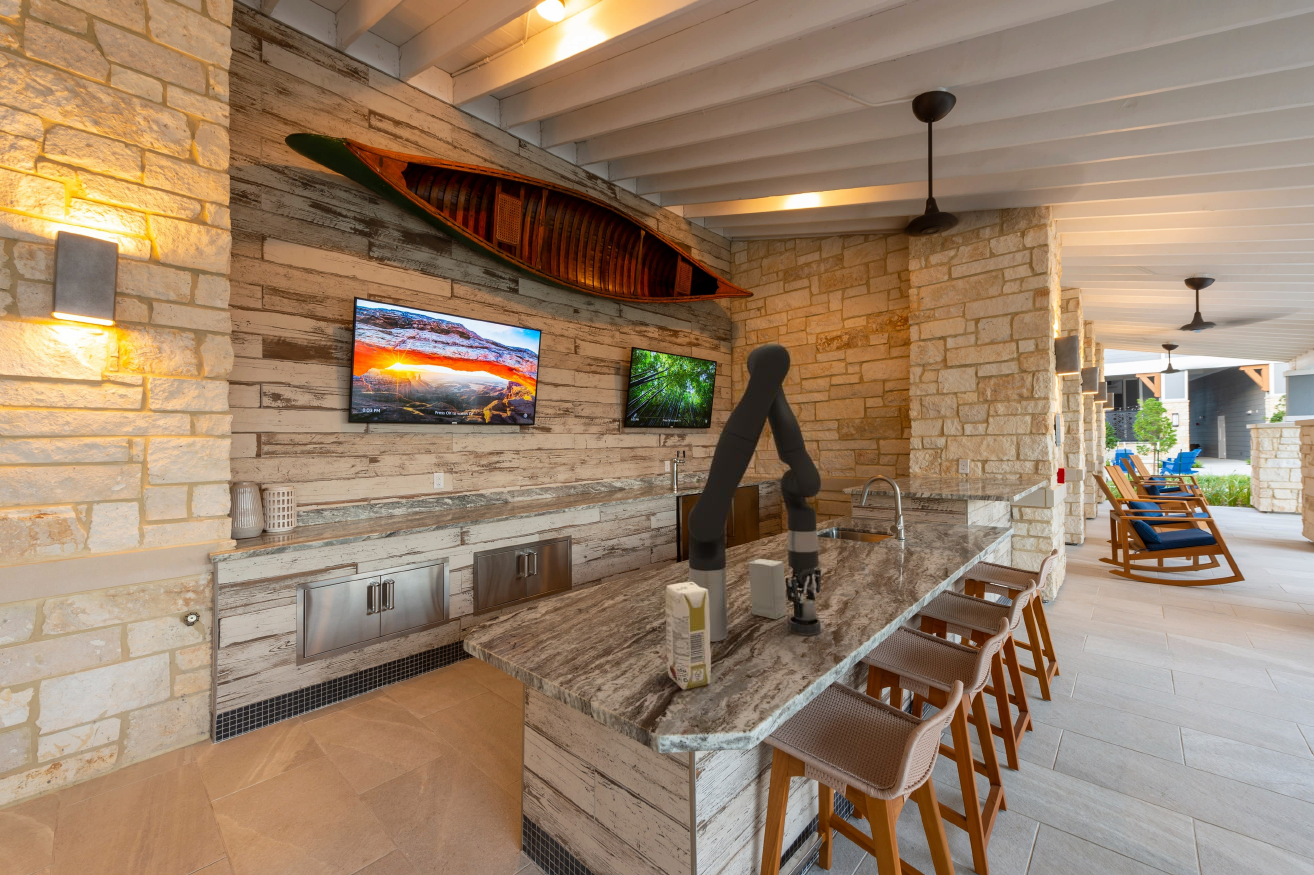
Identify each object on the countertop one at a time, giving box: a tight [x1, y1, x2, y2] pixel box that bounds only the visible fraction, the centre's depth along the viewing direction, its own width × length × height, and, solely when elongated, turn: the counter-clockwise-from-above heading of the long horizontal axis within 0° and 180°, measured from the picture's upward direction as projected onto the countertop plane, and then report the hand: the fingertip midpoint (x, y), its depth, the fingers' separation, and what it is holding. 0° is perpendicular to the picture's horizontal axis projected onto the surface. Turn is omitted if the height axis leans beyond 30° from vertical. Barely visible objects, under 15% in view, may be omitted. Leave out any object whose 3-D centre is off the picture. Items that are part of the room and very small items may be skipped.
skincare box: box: [748, 558, 788, 620], centre depth 146 cm, size 8×6×15 cm
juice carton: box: [665, 581, 712, 690], centre depth 107 cm, size 8×9×19 cm
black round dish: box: [787, 615, 821, 637], centre depth 133 cm, size 8×8×3 cm
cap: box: [795, 597, 817, 621], centre depth 133 cm, size 6×5×4 cm
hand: (805, 613), depth 133 cm, fingers closed on cap, 5 cm apart
